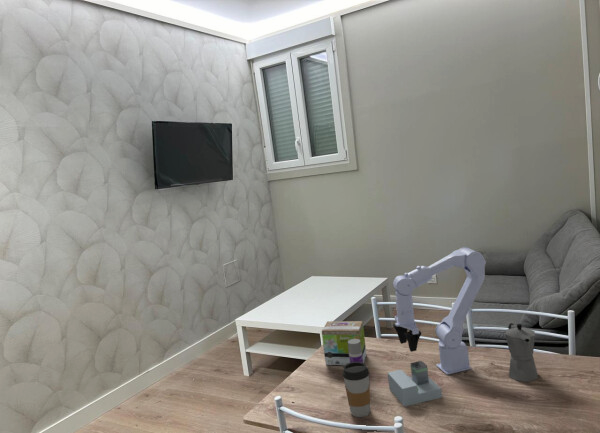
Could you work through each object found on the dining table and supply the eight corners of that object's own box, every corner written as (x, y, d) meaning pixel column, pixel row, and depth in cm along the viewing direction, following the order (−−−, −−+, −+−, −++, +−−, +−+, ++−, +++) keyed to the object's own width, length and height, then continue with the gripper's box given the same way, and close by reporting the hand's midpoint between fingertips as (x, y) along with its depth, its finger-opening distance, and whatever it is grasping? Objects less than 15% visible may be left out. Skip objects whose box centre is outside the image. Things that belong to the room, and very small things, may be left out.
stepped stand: (424, 380, 159) (422, 364, 158) (442, 397, 147) (440, 379, 146) (389, 389, 156) (387, 372, 156) (404, 406, 145) (402, 388, 144)
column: (423, 377, 155) (421, 360, 154) (429, 382, 151) (427, 365, 150) (412, 379, 154) (410, 363, 154) (417, 385, 150) (415, 368, 150)
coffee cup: (345, 407, 149) (339, 363, 147) (370, 402, 150) (365, 359, 148) (350, 421, 141) (344, 375, 139) (376, 416, 141) (371, 370, 139)
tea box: (325, 366, 180) (320, 330, 178) (331, 355, 189) (326, 320, 188) (363, 366, 175) (358, 329, 174) (367, 354, 185) (362, 319, 183)
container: (365, 384, 162) (360, 343, 160) (351, 384, 163) (346, 344, 161) (365, 377, 166) (361, 338, 165) (353, 378, 167) (348, 338, 166)
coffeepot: (547, 383, 147) (543, 330, 144) (516, 386, 147) (512, 333, 145) (526, 362, 162) (522, 313, 160) (499, 365, 163) (495, 316, 160)
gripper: (386, 306, 168) (389, 341, 169) (403, 318, 154) (407, 357, 155) (403, 302, 169) (406, 337, 171) (423, 314, 155) (426, 352, 157)
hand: (408, 346), depth 163 cm, fingers open, 7 cm apart
